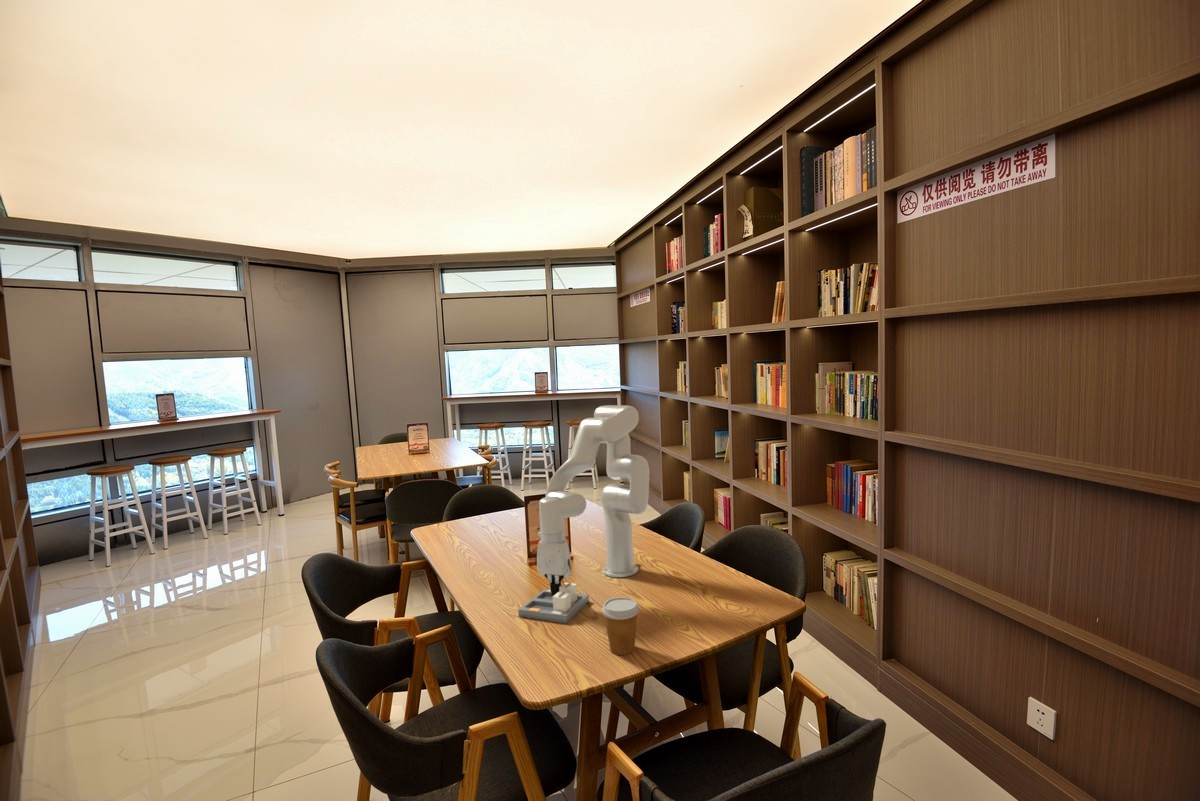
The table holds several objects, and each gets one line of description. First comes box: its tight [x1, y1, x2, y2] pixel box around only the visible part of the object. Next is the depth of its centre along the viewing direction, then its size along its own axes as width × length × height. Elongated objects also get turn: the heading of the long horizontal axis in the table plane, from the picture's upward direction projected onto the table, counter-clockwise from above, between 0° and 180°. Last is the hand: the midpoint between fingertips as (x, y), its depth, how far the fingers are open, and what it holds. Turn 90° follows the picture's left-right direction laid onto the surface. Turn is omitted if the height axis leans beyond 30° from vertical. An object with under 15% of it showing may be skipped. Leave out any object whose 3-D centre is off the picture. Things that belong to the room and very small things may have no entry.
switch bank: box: [517, 588, 590, 624], centre depth 169 cm, size 16×16×2 cm
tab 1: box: [553, 592, 571, 613], centre depth 164 cm, size 4×4×5 cm
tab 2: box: [559, 582, 578, 603], centre depth 171 cm, size 4×4×5 cm
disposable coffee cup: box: [601, 596, 640, 656], centre depth 142 cm, size 10×10×12 cm
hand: (556, 594), depth 173 cm, fingers closed
